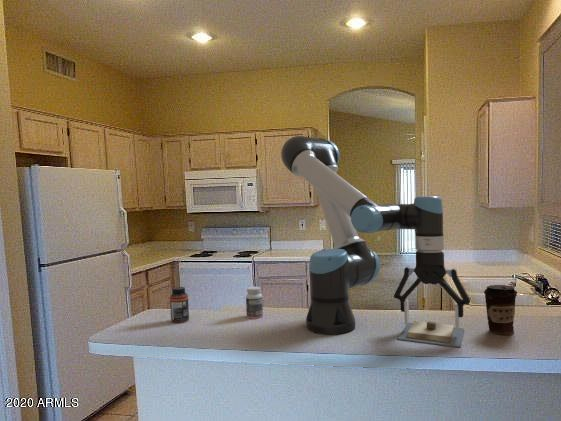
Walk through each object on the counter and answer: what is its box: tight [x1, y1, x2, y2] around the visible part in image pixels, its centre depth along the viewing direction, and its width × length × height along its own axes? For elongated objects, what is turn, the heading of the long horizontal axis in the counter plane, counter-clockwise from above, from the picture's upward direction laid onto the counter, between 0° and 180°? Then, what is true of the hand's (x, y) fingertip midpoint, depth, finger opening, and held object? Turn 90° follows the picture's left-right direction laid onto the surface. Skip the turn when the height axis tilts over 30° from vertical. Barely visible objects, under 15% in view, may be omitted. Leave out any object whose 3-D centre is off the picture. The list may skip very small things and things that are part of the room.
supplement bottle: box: [169, 286, 190, 324], centre depth 135 cm, size 6×6×11 cm
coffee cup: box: [483, 284, 518, 336], centre depth 114 cm, size 9×8×13 cm
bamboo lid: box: [408, 320, 455, 342], centre depth 114 cm, size 11×11×3 cm
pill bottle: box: [245, 286, 264, 319], centre depth 138 cm, size 6×6×10 cm
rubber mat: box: [396, 322, 465, 349], centre depth 114 cm, size 16×16×1 cm
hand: (431, 325), depth 114 cm, fingers open, 13 cm apart
